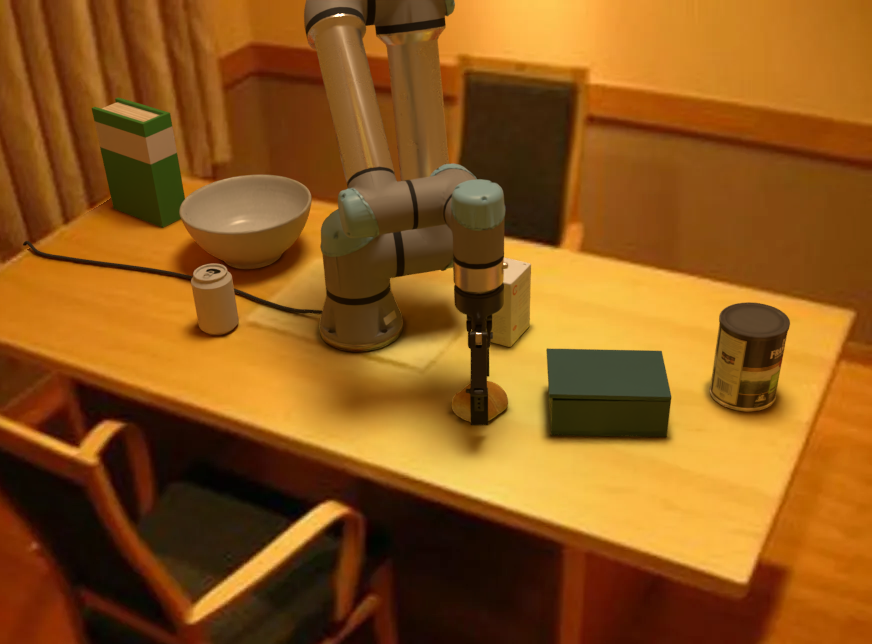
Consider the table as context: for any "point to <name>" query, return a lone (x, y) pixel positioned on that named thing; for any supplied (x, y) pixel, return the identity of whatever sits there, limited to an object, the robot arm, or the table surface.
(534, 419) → the table surface
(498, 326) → the small box
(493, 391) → the bread roll
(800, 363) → the table surface
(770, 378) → the coffee can
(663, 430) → the box
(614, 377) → the lunchbox lid
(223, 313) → the can
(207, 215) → the decorative bowl
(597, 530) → the table surface
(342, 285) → the robot arm
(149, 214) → the hardback book
